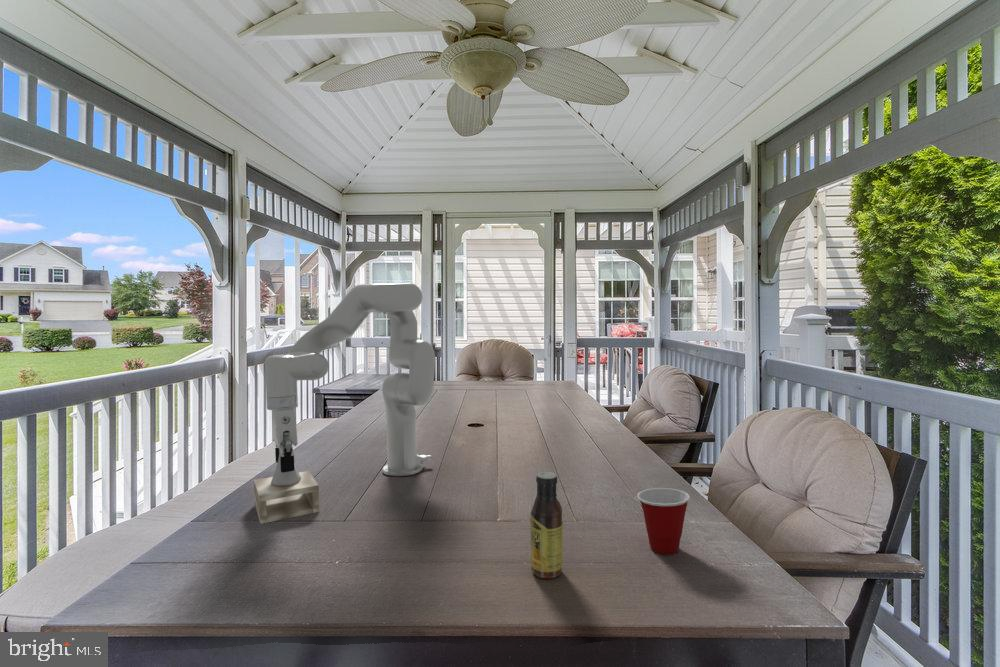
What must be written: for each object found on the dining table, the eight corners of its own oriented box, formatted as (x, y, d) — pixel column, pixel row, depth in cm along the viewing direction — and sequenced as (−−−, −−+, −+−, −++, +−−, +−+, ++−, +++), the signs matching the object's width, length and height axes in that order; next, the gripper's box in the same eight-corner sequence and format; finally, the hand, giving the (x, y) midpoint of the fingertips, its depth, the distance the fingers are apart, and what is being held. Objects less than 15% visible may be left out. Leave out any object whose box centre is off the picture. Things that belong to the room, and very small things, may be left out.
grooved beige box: (309, 495, 147) (308, 470, 146) (319, 511, 135) (318, 485, 134) (254, 505, 140) (253, 479, 139) (260, 523, 128) (259, 495, 127)
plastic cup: (649, 533, 119) (649, 481, 118) (697, 546, 112) (697, 491, 112) (628, 550, 111) (628, 495, 110) (678, 566, 104) (678, 507, 103)
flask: (290, 487, 133) (288, 449, 132) (265, 486, 134) (263, 448, 134) (306, 478, 140) (304, 441, 139) (282, 477, 141) (280, 440, 141)
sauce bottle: (528, 565, 105) (527, 469, 104) (559, 563, 106) (558, 467, 105) (533, 582, 99) (532, 480, 98) (566, 580, 99) (565, 478, 98)
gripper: (303, 405, 130) (305, 472, 131) (292, 395, 145) (294, 456, 146) (270, 409, 126) (273, 478, 127) (263, 398, 141) (265, 460, 142)
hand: (284, 466), depth 137 cm, fingers open, 9 cm apart
